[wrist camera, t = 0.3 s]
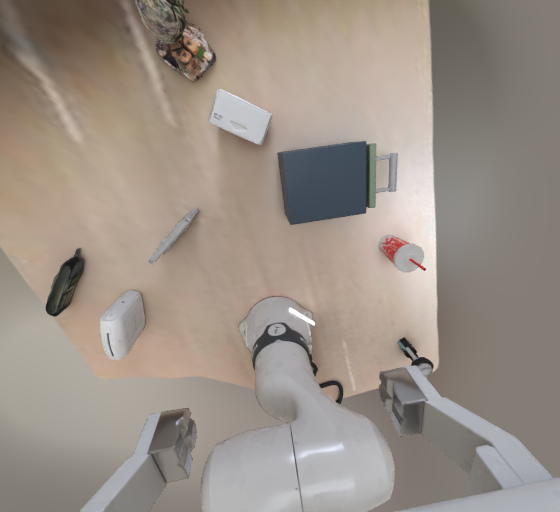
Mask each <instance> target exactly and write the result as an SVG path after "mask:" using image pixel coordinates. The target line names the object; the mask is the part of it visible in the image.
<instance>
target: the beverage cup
mask: <svg viewBox="0 0 560 512" xmlns="http://www.w3.org/2000/svg"><path fill="white" fill-rule="evenodd" d="M379 249H380V250H381V252H382V253H383V254H384V255H385V256H386V257H387V258H388V259H389V260H390V261H392V262H393V263H394V265H395V267H396V268H397V269H398V270H400V271H402V272H411V271H414V270H415V269H417V268H418V267H420V268H421V269H423V270H424V271H425V270H426V268H424V267H423V266H421V263H422V262H423V258H424V252H423V250H422V249H421V247H419V246H417V245H415V244H410V243H408V242H406V241H404V240H401V239H399V238H397V237H395V236H393V235H387V236H385V237H383V238H382V239H381V241H380V243H379Z"/></svg>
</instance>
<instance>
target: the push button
mask: <svg viewBox="0 0 560 512" xmlns="http://www.w3.org/2000/svg"><path fill="white" fill-rule="evenodd" d="M398 342H399V344H400V345H401V346H402V347H403V348H402V349H401V348H400V349H401V350H402V351H403V352H404V354H405V355H406V357H408V358H410V359H411V360H412V361H413V362H412V364H411V366H413V365H415V366H417V367H418V368H419V369H420V371H421V372H422V373H423V374H424V376H425V377H427V376H429V375H430V374H431V373H432V370H433V363H432V362H431V361H429V360H428V359H426V358H425V357H420V358H419V357H418V355H417V354H416V353H417V351H416V350H415V349H414V347H413V346H412V345H411V344H409V343H408V342H409V341H407V340H406V339H405V338H403V339H401V340H400V341H398Z"/></svg>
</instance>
